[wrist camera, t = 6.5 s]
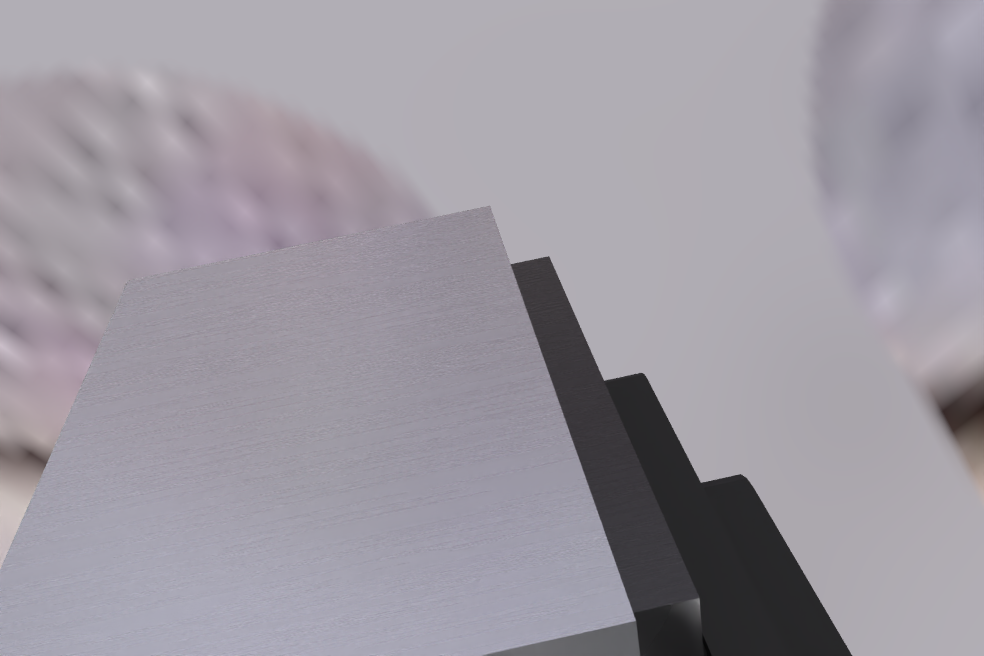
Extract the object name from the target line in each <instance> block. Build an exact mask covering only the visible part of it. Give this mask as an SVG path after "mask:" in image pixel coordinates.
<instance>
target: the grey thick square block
mask: <svg viewBox="0 0 984 656" xmlns="http://www.w3.org/2000/svg"><path fill="white" fill-rule="evenodd" d="M0 656H704V655H703V641H702V626H701V612H700V598H699V596H698V593H697V591H696V589H695V587H694V584H693V582H692V580H691V577H690V575H689V573H688V571H687V568H686V566H685V564H684V562H683V559H682V557H681V555H680V553H679V550H678V548H677V546H676V543H675V541H674V539H673V537H672V534H671V532H670V530H669V528H668V525H667V523H666V521H665V518H664V516H663V514H662V512H661V509H660V507H659V505H658V503H657V500H656V498H655V496H654V493H653V491H652V489H651V487H650V484H649V482H648V480H647V478H646V475H645V473H644V471H643V469H642V466H641V464H640V462H639V459H638V457H637V455H636V453H635V450H634V448H633V446H632V444H631V441H630V439H629V437H628V434H627V432H626V430H625V428H624V425H623V423H622V421H621V419H620V416H619V414H618V412H617V409H616V407H615V405H614V403H613V400H612V398H611V396H610V394H609V391H608V389H607V387H606V384H605V382H604V380H603V378H602V375H601V373H600V371H599V369H598V366H597V364H596V362H595V360H594V358H593V355H592V353H591V350H590V348H589V346H588V344H587V341H586V339H585V337H584V335H583V332H582V330H581V328H580V325H579V323H578V321H577V319H576V317H575V314H574V312H573V310H572V307H571V305H570V303H569V301H568V298H567V296H566V294H565V291H564V289H563V287H562V285H561V282H560V280H559V278H558V276H557V273H556V271H555V269H554V267H553V264H552V262H551V260H550V257H543V258H539V259H534V260H530V261H524V262H520V263H515V264H510V261H509V258H508V256H507V253H506V250H505V247H504V244H503V241H502V239H501V236H500V233H499V230H498V227H497V224H496V222H495V219H494V216H493V213H492V210H491V207H490V206H487V207H482V208H477V209H472V210H467V211H463V212H458V213H453V214H449V215H443V216H438V217H434V218H429V219H424V220H419V221H414V222H409V223H405V224H400V225H395V226H390V227H385V228H380V229H376V230H371V231H366V232H361V233H356V234H351V235H347V236H342V237H337V238H332V239H327V240H322V241H318V242H313V243H308V244H303V245H298V246H294V247H289V248H284V249H279V250H274V251H269V252H265V253H260V254H255V255H250V256H245V257H240V258H236V259H231V260H226V261H221V262H216V263H211V264H207V265H202V266H197V267H192V268H187V269H182V270H178V271H173V272H168V273H163V274H158V275H153V276H149V277H144V278H139V279H134V280H129V281H127V284H126V286H125V288H124V290H123V293H122V295H121V297H120V299H119V302H118V304H117V306H116V308H115V311H114V313H113V315H112V317H111V320H110V322H109V324H108V327H107V329H106V331H105V333H104V336H103V338H102V340H101V342H100V345H99V347H98V349H97V351H96V354H95V356H94V358H93V361H92V363H91V365H90V367H89V370H88V372H87V374H86V376H85V379H84V381H83V383H82V385H81V388H80V390H79V392H78V395H77V397H76V399H75V401H74V404H73V406H72V408H71V410H70V413H69V415H68V417H67V419H66V422H65V424H64V426H63V429H62V431H61V433H60V435H59V438H58V440H57V442H56V444H55V447H54V449H53V451H52V453H51V456H50V458H49V460H48V463H47V465H46V467H45V469H44V472H43V474H42V476H41V478H40V481H39V483H38V485H37V487H36V490H35V492H34V494H33V497H32V499H31V501H30V503H29V506H28V508H27V510H26V512H25V515H24V517H23V519H22V521H21V524H20V526H19V528H18V531H17V533H16V535H15V537H14V540H13V542H12V544H11V546H10V549H9V551H8V553H7V555H6V558H5V560H4V562H3V565H2V567H1V569H0Z"/></svg>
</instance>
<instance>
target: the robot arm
mask: <svg viewBox="0 0 984 656" xmlns="http://www.w3.org/2000/svg"><path fill="white" fill-rule="evenodd" d="M604 382H605V384H606V387H607V389H608V391H609V394H610V396H611V398H612V400H613V403H614V405H615V407H616V409H617V412H618V414H619V416H620V419H621V421H622V423H623V425H624V428H625V430H626V432H627V434H628V437H629V439H630V441H631V444H632V446H633V448H634V450H635V453H636V455H637V457H638V459H639V462H640V464H641V466H642V469H643V471H644V473H645V475H646V478H647V480H648V482H649V484H650V487H651V489H652V491H653V493H654V496H655V498H656V500H657V503H658V505H659V507H660V509H661V512H662V514H663V516H664V518H665V521H666V523H667V525H668V528H669V530H670V532H671V534H672V537H673V539H674V541H675V543H676V546H677V548H678V550H679V553H680V555H681V557H682V559H683V562H684V564H685V566H686V568H687V571H688V573H689V575H690V577H691V580H692V582H693V584H694V587H695V589H696V591H697V593H698V596H699V598H700V612H701V626H702V641H703V655H704V656H852V655H851V653H850V651H849V650H848V648H847V646H846V645H845V643H844V641H843V640H842V638H841V636H840V634H839V632H838V631H837V629H836V627H835V626H834V624H833V623H832V621H831V619H830V617H829V615H828V614H827V612H826V610H825V609H824V607H823V605H822V604H821V602H820V600H819V598H818V597H817V595H816V593H815V592H814V590H813V588H812V586H811V585H810V583H809V581H808V580H807V578H806V576H805V575H804V573H803V571H802V570H801V568H800V566H799V565H798V563H797V561H796V559H795V557H794V556H793V554H792V552H791V551H790V549H789V547H788V546H787V544H786V542H785V541H784V539H783V537H782V535H781V534H780V532H779V530H778V529H777V527H776V525H775V523H774V522H773V520H772V518H771V517H770V515H769V513H768V512H767V510H766V508H765V507H764V505H763V503H762V501H761V500H760V498H759V496H758V494H757V493H756V491H755V489H754V488H753V486H752V485H751V484H750V482H749V481H748V479H747V478H746V477H744V476H743V475H741V474H740V475H735V476H731V477H726V478H722V479H717V480H713V481H708V482H703V483H701V482H700V481H699V478H698V476H697V475H696V473H695V471H694V469H693V467H692V465H691V463H690V461H689V459H688V457H687V455H686V453H685V451H684V449H683V448H682V445H681V444H680V441H679V440H678V438H677V436H676V434H675V432H674V430H673V428H672V426H671V424H670V422H669V420H668V418H667V416H666V414H665V413H664V411H663V408H662V407H661V405H660V403H659V401H658V399H657V397H656V395H655V393H654V391H653V389H652V387H651V385H650V383H649V381H648V379H647V378H646V376H645V375H644V374H643V373H639V374H634V375H630V376H625V377H620V378H616V379H611V380H606V381H604Z"/></svg>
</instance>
